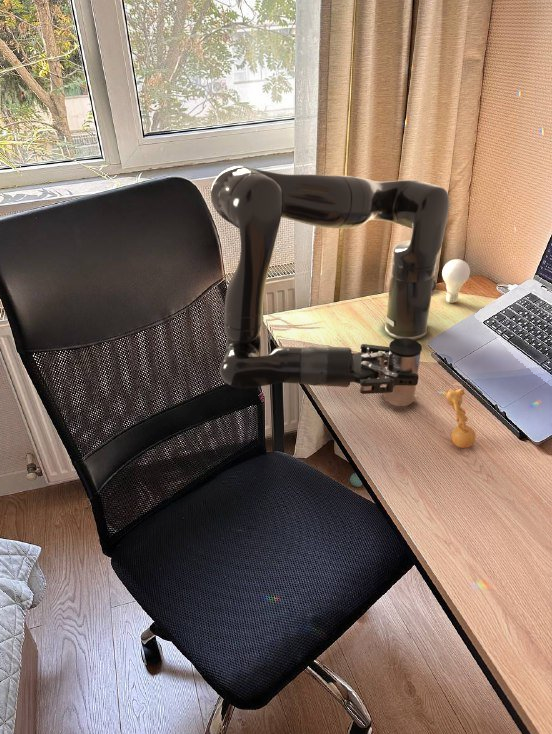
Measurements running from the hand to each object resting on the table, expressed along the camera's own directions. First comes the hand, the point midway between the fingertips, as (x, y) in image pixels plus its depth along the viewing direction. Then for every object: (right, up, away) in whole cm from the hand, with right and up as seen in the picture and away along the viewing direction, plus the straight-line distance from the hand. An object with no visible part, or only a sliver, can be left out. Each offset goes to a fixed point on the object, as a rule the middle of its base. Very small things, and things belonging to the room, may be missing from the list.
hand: (416, 370), depth 109 cm
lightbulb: (+19, +19, +36) cm, 45 cm away
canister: (-2, -5, +4) cm, 7 cm away
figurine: (+5, -14, -6) cm, 16 cm away
